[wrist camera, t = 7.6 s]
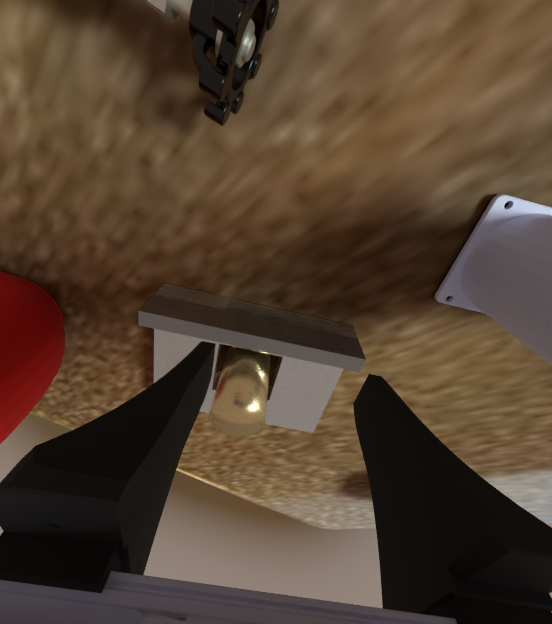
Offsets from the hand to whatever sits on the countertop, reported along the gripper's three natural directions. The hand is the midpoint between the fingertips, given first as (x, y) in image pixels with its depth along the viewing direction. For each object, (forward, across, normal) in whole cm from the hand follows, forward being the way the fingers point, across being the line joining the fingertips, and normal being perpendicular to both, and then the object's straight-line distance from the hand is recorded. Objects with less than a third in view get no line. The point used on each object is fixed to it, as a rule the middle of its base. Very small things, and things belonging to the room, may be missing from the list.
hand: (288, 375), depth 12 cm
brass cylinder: (+10, +2, +8) cm, 13 cm away
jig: (+10, +2, +8) cm, 13 cm away
